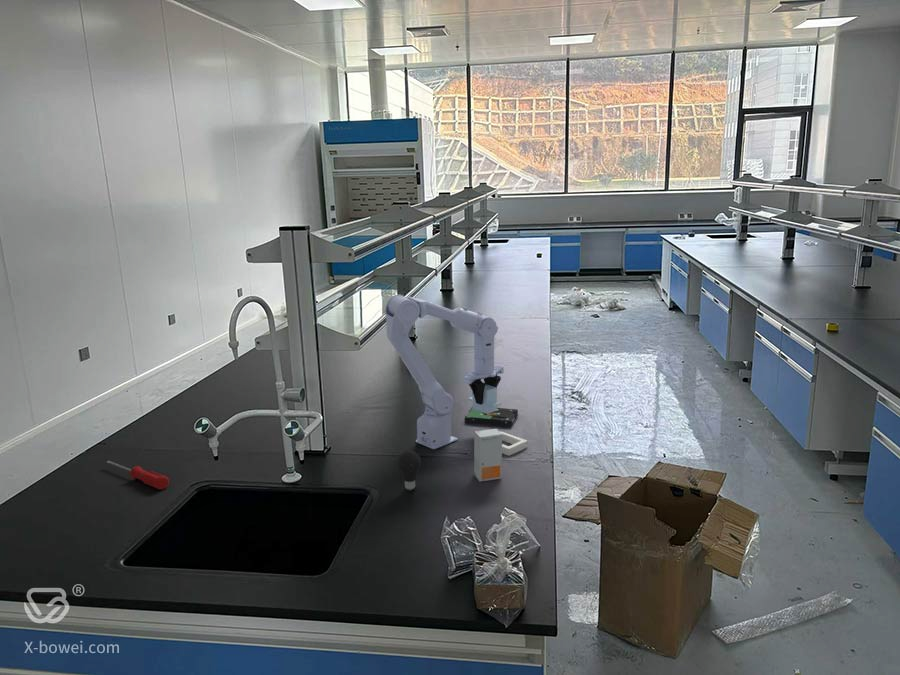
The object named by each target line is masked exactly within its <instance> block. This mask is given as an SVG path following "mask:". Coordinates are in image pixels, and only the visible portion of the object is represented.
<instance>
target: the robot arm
mask: <svg viewBox="0 0 900 675" xmlns="http://www.w3.org/2000/svg"><path fill="white" fill-rule="evenodd" d="M384 314H385V321H386V336H387V339H388V341H389V342H390V344H391V346H392V347H393V349H395V351H396V353H397V354H398V356H399V358H400V359H401V360H402V362H403V364H404V365H405V367H406V369H407V370H408V372H409V373H410V375H411V376H412V378H413V379H414V381H415V382H416V384H417V385H418V389H419V392H420V394H421V400H422V402H423V404H425V407H424V413H423V414H422V415H421V416H419V417H418V418H417V420H416V437H417V438H416V440H415V443H417V444H420V445H422V446H425V447H427V448H429V449H432V450H436V449H438V448H441V447H444V446H447V445H448V444H451V443H453V442H456V441H458V437H455V436H452V426H451V425H452V421H451V419H452V418H451V415H452V414H451V412H452V410H453V407H454V405H455V402H454V401H455V400H454V397H453V396H452V394H450V393H448V392H446V391H445V389H444V388H443V387H442V385H441V384H440V383H439V382H438V381H437V380H436V378H435V376H434V375H433V373H432V372H431V370H430V368H429V367H428V365H427V364H426V363H425V361H424V359H423V358H422V356H421V354H420V353H419V351H418V349H417V348H416V347H415V344H414V343H413V342H412V340H411V339H410V337H409V333H410V331H411V329H412V327H413V325H414V324H415V323H416V321H417V320H418V319H419V318H420V319H423V318H424V317H425V316H431V317H434V318H439V319H441V320H446V321H449V323H450V325H451V327H453V328H456V329H458V330H461V331H466V332H468V333H471V334H473V349H474V350H473V354H474V356H473V357H474V358H473V359H474V361H473V364H474V365H473V366H474V368H473V369H474V370H473V371H472V372H469V374H467V375H465V376H463V379H464V384H467V385H468V386H469V387H470V389H471V392H472V391H473V394H474V397H475V401H476V403H477V404H480V405H481V404H482V403H483V393H484V388H485V385H486V384H487V385H490V386H493V387H497V388H498V385H499V383H500V382H501V380H502V377H501V376H500V375H501V374H502V375H503V374H504V366H501V365H496V366H495V336H496V335H497V333H498V330H499V326H497V322H496V320H494V319H493V318H492V317H489V316H487V315H484V314H483V313H482V312H479V311H478V312H474V311H472V310H469V308H468V307H466V306H462V307H456V308H454V309H450V308H447V307H445V306H442V305H439V304H436V303H434V302H431V301H427V300H426V299H422V298H417V297H414V296H405V295H403V294H394V295H392V296H391V297H390V298H389V299H388V301H387V303H386V305H385V309H384ZM499 374H500V375H499Z"/></svg>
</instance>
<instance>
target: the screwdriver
mask: <svg viewBox="0 0 900 675" xmlns="http://www.w3.org/2000/svg"><path fill="white" fill-rule="evenodd" d="M106 463H107V464H110V465H113V466H114V467H115V466H116V467H118V468H120V469H124V470H125V471H129V476H130V478H131V479H133V480H137V479H138V480H141V481H142V482H143V483H144V484H146V485H147V486H150V487H153V488H155V489H157V490H159V491H160V490H162V491H163V490H165V489H166V488H167V487H168V486H169V483H170V482H169V481H170V480H169V478H168V476H166V475H163V474H160V473H158V472H155V471H153V470H144V469H143V468H142V467H141V466H139V465H137V466H134V467H132V468H129V467H127V466H126V467H125V466H124V465H120V464H118V463H116V462H113V461H110V460H107V461H106Z"/></svg>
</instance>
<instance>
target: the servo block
mask: <svg viewBox="0 0 900 675" xmlns="http://www.w3.org/2000/svg"><path fill="white" fill-rule="evenodd" d="M497 390H498V386H497V387H493V386H490V385H487V384H486V385H485V388H484V393H483V403H482V404H481V405H480V404H477V403H476V401H475V397H474V394H473V391H472V390H471V392H472V393H471V395H472V396H470V397H468V401H471V404H472V406H473V409H475V410H478V411H481V412H484V413H487V414H488V413H491V412H493V411H496V410H497V408H498V407H500V406H502V403H501V402H498V399H497V398H498V396H497V395H498V393H497Z"/></svg>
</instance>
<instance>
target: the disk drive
mask: <svg viewBox="0 0 900 675" xmlns="http://www.w3.org/2000/svg"><path fill="white" fill-rule="evenodd" d="M518 412H519V409H515V408H507V407H506V408H501V407H497V410H496V411H493V412H491V413H488V414H487V413H484V412H481V411H478V410H475V409H473V406H472V407H471V408H470V409H468V412H467V413H466V415H464V424H470V425H481V426H490V427H491V426H492V427H503V428H512V427H513V425H514V423H515V422H516V420H517V418H518V417H519V413H518ZM517 416H518V417H517Z"/></svg>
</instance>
